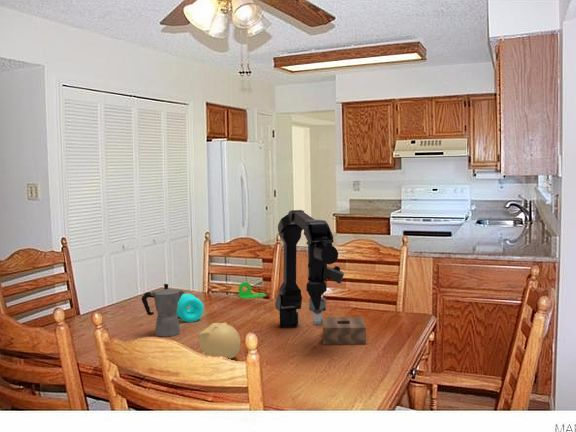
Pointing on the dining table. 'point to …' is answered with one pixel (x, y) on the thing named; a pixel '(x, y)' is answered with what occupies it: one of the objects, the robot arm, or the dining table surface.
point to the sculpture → (220, 340)
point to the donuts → (193, 311)
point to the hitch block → (344, 330)
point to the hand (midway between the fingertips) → (317, 308)
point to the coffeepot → (165, 310)
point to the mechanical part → (248, 292)
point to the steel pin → (317, 311)
